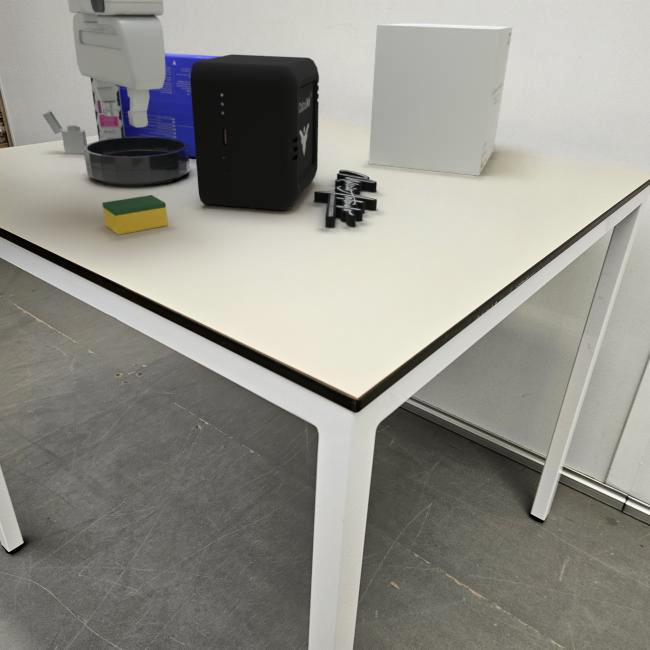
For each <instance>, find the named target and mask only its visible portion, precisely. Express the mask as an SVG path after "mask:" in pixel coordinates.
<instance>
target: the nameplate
mask: <svg viewBox="0 0 650 650" xmlns="http://www.w3.org/2000/svg"><path fill="white" fill-rule="evenodd" d="M377 186H378V182H377V181H375V180H373V179H371V178H370V177H369V176H368V175H366V174H364V173H360V172H357V171H354V170H349V169H339V171H338V173H336V179H335V180H334V191H328V190H327V191H325V190H316V191H314V192H313V196H314V197H313V202H314V203H322V204H323V203H324V204H326V211H325V219H324V221H325V222H324V227H325V228H329V229H331V228H335V227H336V219H339V220H340V222H344V223H345V224H346V225H347V226H348V227H352V228H353V227H356V222H362V221H363V217H364V214H365V212H366V210H367V211H377V207H378V206H377V205H378V199H377V198H373V197H369V196H364V195H361V193H362V192H367V193H377V188H378V187H377Z"/></svg>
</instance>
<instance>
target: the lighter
mask: <svg viewBox="0 0 650 650" xmlns="http://www.w3.org/2000/svg"><path fill="white" fill-rule="evenodd" d="M42 117H43V118H44V120H45V121H46V123H47V124H48V126H49V127H50V129H51V130H52V132H53V134H55V135H57V134H60V133H61V137H62V138H61V139H62V142H63V143H62V144H63V148H64V153H65V155H79V154H80V155H84V146H86V145H88V141H87V140H88V139H87V135H86V130H85V129H81V127H80V126H79V125H77V124H68V125H66V129H64V128H63V126H62V125H61V123H60V122H59V121H58V119H57V118H56V116H55V114H54V113H53V111H52V110H48V111H46V112H44V113H42Z"/></svg>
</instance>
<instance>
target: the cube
mask: <svg viewBox="0 0 650 650" xmlns="http://www.w3.org/2000/svg"><path fill="white" fill-rule="evenodd" d="M512 32H513V26H508V25H507V26H504V25H476V24H475V25H474V24H473V25H471V24H449V23H446V24H445V23H418V22H417V23H415V22H414V23H413V22H407V23H406V22H403V23H389V24H388V23H387V24H385V23H384V24H376V32H375V47H374V48H375V51H374V66H373V67H374V68H373V85H372V100H371V101H372V102H371V103H372V104H371V121H370V135H369V136H370V137H369V139H370V140H369V154H368V155H369V156H368V165H374V166H384V167H393V168H402V169H413V170H423V171H430V172H441V173H451V174H458V175H459V174H460V175H469V176H480V174H481V173H482V171H483V169H484V168H485V166H486V165H487V163H488V161H489V159H490V158H491V156H492V154H493V153H494V150H495V143H496V137H497V130H498V122H499V117H500V110H501V104H502V97H503V91H504V85H505V78H506V71H507V64H508V60H509V59H508V58H509V51H510V45H511V38H512Z"/></svg>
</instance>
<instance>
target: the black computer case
mask: <svg viewBox="0 0 650 650" xmlns="http://www.w3.org/2000/svg"><path fill="white" fill-rule="evenodd" d="M220 56H221V57H216V58H211V59H206V60H201V61H196V62H195V63H194V64H193V66H192V69H191V75H190V83H191V96H192V110H193V124H194V137H195V151H196V158H195V162H196V176H197V177H196V178H197V190H198V198H199V200H200V202H201V203H202V204H203V205H213V206H225V207H234V208H235V207H236V208H247V209H248V208H249V209H260V210H273V211H274V210H275V211H288V210H289V209H291V208H292V207H293V206H294V204H296V202H297V201H298V200H299V198H300V197H301V195H303V193H305V191H306V190H307V188H309V186H310V185H311V184H312V182H313V180H314V179H315V178H316V175H317V171H318V167H319V163H318V161H319V155H318V153H319V107H320V106H319V105H320V104H319V103H320V102H319V101H318V100H319V98H320V97H319V95H320V93H318V92H319V90H320V86H319V83H320V74H319V69H318V67H317V64H316V62H315V61H314V60H313V59H312V58H310V57H304V56H303V57H302V56H281V55H280V56H279V55H258V54H257V55H256V54H255V55H253V54H234V53H233V54H232V53H231V54H226V55H220Z"/></svg>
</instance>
